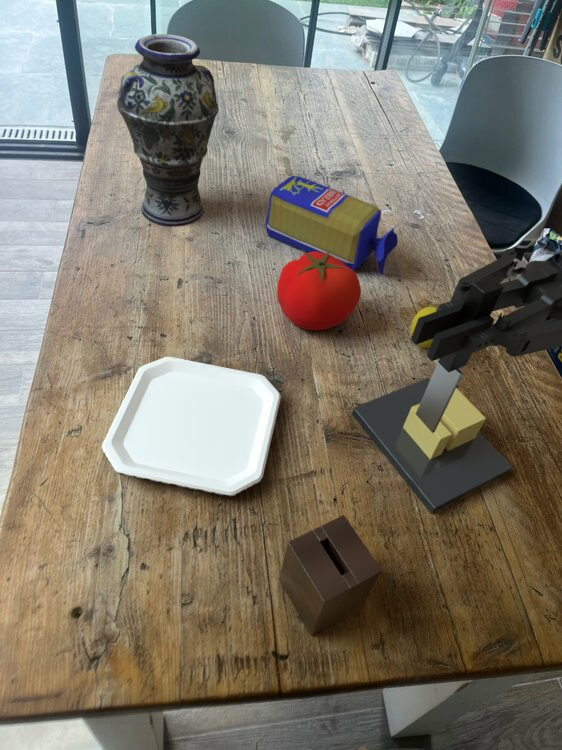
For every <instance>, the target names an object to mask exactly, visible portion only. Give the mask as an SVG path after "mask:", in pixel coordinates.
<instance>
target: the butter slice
mask: <svg viewBox="0 0 562 750" xmlns="http://www.w3.org/2000/svg"><path fill="white" fill-rule="evenodd" d="M419 405H420V404H418V405H415V406H413V407H411V410H410V412H409V414H408V417H407V419H406V422H405V424H404V426H403V428H404V429H405V430H406V432H407V433H408V434H409V435H410V436H411V437H412V439H413V440H414V441H415V442H416V443H417V445H418V446H419V447H420V448H421V449H422V450H423V452H424V453H425V454H426V455H427V456H428V457H429V459H432V458H435V457H437V456H439V455H441V454H442V452H443V450H444V448H445V446H446V444H447V442H448V441H449V439H450V437H451V435H452V434H451V433H450V432H449V431H448V430H447V428H446V427H445V426H444V425H443V424H442V423H441V422H439V424H438V426H437V428H436V430H435V432H434V433H432V432H431V431H430V430H429V429H428V428H427V426H426V425H425V424H424V423H423V422H422V421H421V420H420V419H419V417H418V416H417V415H416V412H417V409H418V407H419Z"/></svg>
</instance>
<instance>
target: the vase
mask: <svg viewBox="0 0 562 750" xmlns="http://www.w3.org/2000/svg"><path fill="white" fill-rule="evenodd" d="M134 50H135V51H136V52H137V53H138V54H139V55H140V56H142V57H143V58H142V61H140V62H139V63H137V64H136V65H134V66H133V67H132V68H131V69H130V70H129V71H126V73H125V74H123V75H122V77H121V83H120V86H119V90H118V98H117V100H116V106H117V110H118V112H119V114H120V115H121V117H122V118H123V121H124V122H125V125H126V128H127V130H128V132H129V136H130V138H131V140H132V144H133V152H134V154H135V155H136V156H137V157H138V159H139V161H140V163H141V166H142V175H143V177H144V179H145V184H146V188H145V194H144V198H143V202H142V204H141V205H142V206H141V214H142V216H143V217H144V218H145V219H146V220H147V221H149V222H151V223H153V224H156V225H159V226H163V227H182V226H187V225H190V224H193V223H195V222H197V221H198V220H199V219H201V218H202V217H203V215H204V211H205V209H204V205H203V203H202V198H201V195H200V189H199V181H200V177H201V167H202V164H203V160H204V158H205V157H206V155H207V153H208V149H209V148H208V144H209V142H210V137H211V133H212V130H213V126H214V123H215V120H216V117H217V115H218V114H219V104H218V101H217V92H216V86H215V79H214V76H213V73H212V71H210V69H209V68H208V67H206V66H205V65H200V64H199V65H197V64H193V60H195V59H196V58H198V57H199V56H200V53H201V50H200V47H199V46H198V45H197V43H195V42H194V41H193V40H191V39H189V38H187V37H184V36H180V35H176V34H175V35H174V34H168V33H154V34H148V35H145V36H142V37H140V38H139V39H138V40H137V41H136V43H135V46H134Z"/></svg>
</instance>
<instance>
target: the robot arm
mask: <svg viewBox="0 0 562 750" xmlns="http://www.w3.org/2000/svg"><path fill="white" fill-rule="evenodd" d="M517 254H518V253H517V251H515V250H514V249H511V248H507V249H505V251H504V252H503V253H502V255H501V257H499V258H497V259H495V260H494V261H492V262H490V263H488V264H486V265H484V266H482V267H481V268H479V269H477V270H475V271H473V272H471V273H469V274H467V275H465V276H464V277H462V278H459V279H458V281H457V284H456V286H455V288H454V290H453V291H454V292H453V294H452V296H451V297H450V300H449V301H446V302H443V303H440V304H439V305H438V306H437V307H436V308H437V311H436V312H434V313H431V314H428V315H425V316H422V317H419V318H418V321H417V323H416V326H415V329H414V332H413V334H412V337H411V336H410V337H411V338H410V341H411V342H412V344H414V345H415V346H416V345H417V344H419V343H422V342H425V341H428V340H430V339H433V338H434V339H433V341H432V343H431V346H430V348H428V351H427V354H426V357H427V358H428V359H429V361H431V362H434V361H436V360H439V359H440V358H442V357H444V356H447V355H450V354H452V353H455V352H457V351H460V350H462V349H466V350H467V351H468V352H472V353H476V352H479V351H481V350H484V349H486V348H487V349H488V348H489V347H492V346H493V347H498V346H501V347H503V348H504V349H505V352H506V354H507V355H508V356H510V357H513V358H514V357H515V358H517V357H520V356H525V355H529V354H533V353H539V352H542V351H546V350H552V349H555V348H560V347H562V250H560V251H558V252H557V253H555V254H553V255H552V256H550V257H548V258H547V259H546V260H532V261H529V262H528V263H527V262H525V261H522V260H520V259H518V258H517ZM516 275H520V276H518V277H517V278H516V279H513V280H510V279H511V277H514V276H516ZM489 277H493V278H494V279H495V280H497V281H498V282H499V283H500V284H502V285H503V286H504V288H503V290H502V292H501V294H500V296H499V298H498V301H497V303H496V305H495V307H494V309H493V311H492V313H493V312H496V311H500V310H503V309H506V308H510V307H515V308H516V310H514V311H512V312H509V313H507V314H503V312H500V313H499V315H498V318H497V320H496V321H495V319H496V318H494V317H493V316H491V315H487V316H484V317H481V318H479V319H476V320H473V321H470V322H467V323H464V324H462V325H459V326H456V327H454V324H455V322H456V320H457V317H458V315H459V313H460V310H461V308H462V306H463V303H464V301H465V299H466V297H467V294H468V292H469V290H470V287H471V285H472V283H473V282H476V281H479V280H482V279H485V278H489ZM505 280H506V281H505ZM503 281H504V282H503ZM494 321H495V323H494ZM417 346H418V345H417Z"/></svg>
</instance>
